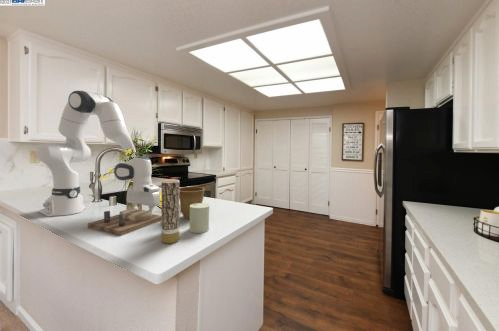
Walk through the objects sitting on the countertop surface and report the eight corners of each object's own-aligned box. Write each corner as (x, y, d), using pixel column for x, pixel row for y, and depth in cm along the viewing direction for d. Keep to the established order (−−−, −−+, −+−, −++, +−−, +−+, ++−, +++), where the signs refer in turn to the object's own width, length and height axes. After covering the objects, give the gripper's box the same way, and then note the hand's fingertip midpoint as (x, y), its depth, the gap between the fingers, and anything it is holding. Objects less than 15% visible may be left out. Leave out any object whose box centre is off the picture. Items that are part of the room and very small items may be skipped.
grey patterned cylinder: (173, 245, 87) (173, 182, 85) (157, 243, 88) (157, 181, 86) (182, 238, 93) (182, 179, 91) (167, 236, 95) (167, 178, 93)
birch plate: (119, 217, 112) (119, 211, 111) (133, 213, 119) (133, 208, 119) (137, 221, 107) (137, 215, 107) (150, 216, 115) (150, 210, 114)
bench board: (87, 227, 102) (87, 212, 102) (132, 214, 125) (132, 201, 124) (121, 235, 94) (121, 219, 94) (162, 219, 116) (162, 206, 116)
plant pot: (197, 212, 132) (198, 185, 131) (208, 218, 120) (209, 189, 119) (172, 215, 124) (172, 187, 122) (181, 223, 112) (181, 192, 110)
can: (198, 224, 110) (198, 201, 110) (213, 228, 106) (213, 203, 105) (185, 230, 102) (185, 205, 101) (200, 234, 98) (200, 208, 97)
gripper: (123, 186, 118) (123, 211, 119) (152, 189, 110) (152, 216, 111) (133, 184, 123) (133, 208, 124) (161, 187, 116) (161, 213, 117)
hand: (142, 212), depth 118 cm, fingers open, 8 cm apart
